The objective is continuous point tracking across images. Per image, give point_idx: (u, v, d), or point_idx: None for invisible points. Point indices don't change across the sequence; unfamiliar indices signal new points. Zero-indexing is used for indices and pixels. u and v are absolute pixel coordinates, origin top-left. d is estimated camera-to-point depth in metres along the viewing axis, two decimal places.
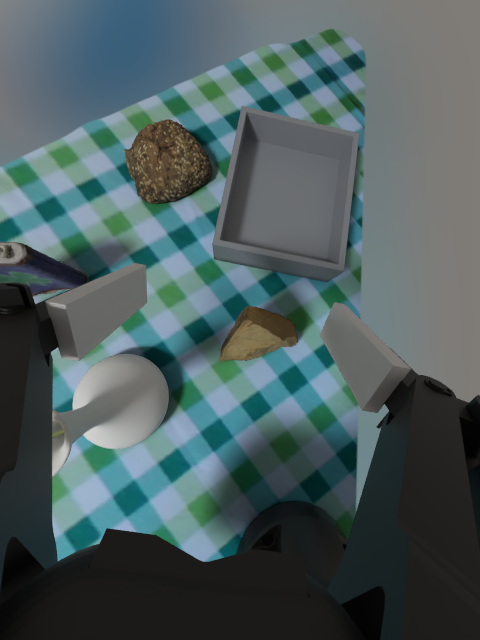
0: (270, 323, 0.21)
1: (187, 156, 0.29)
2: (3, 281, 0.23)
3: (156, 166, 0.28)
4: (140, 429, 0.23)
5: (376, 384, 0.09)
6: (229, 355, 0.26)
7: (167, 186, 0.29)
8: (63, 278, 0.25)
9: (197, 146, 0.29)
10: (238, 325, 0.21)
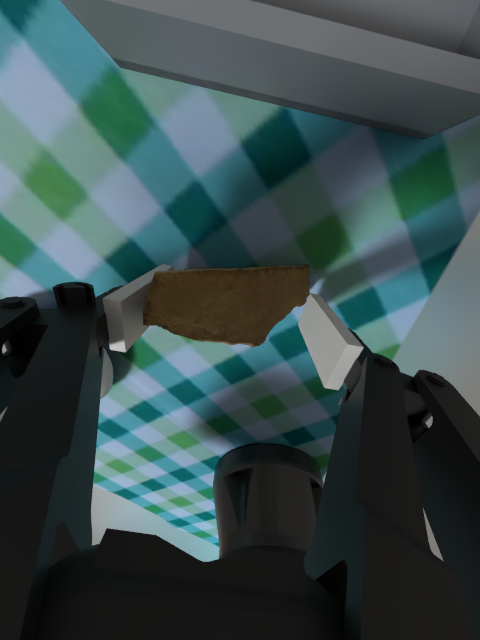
0: (229, 311, 0.08)
1: None
2: None
3: None
4: None
5: (335, 363, 0.10)
6: None
7: None
8: None
9: None
10: None
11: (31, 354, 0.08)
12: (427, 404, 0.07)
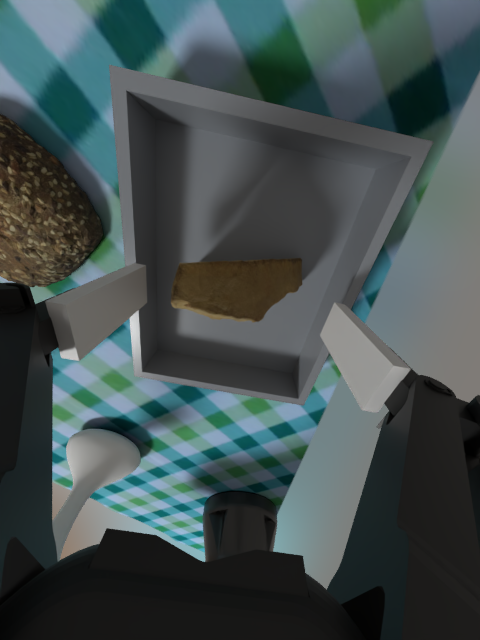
0: (235, 293, 0.11)
1: (35, 234, 0.15)
2: None
3: None
4: (122, 477, 0.32)
5: (376, 384, 0.09)
6: None
7: (36, 277, 0.18)
8: None
9: (44, 200, 0.15)
10: None
11: None
12: None
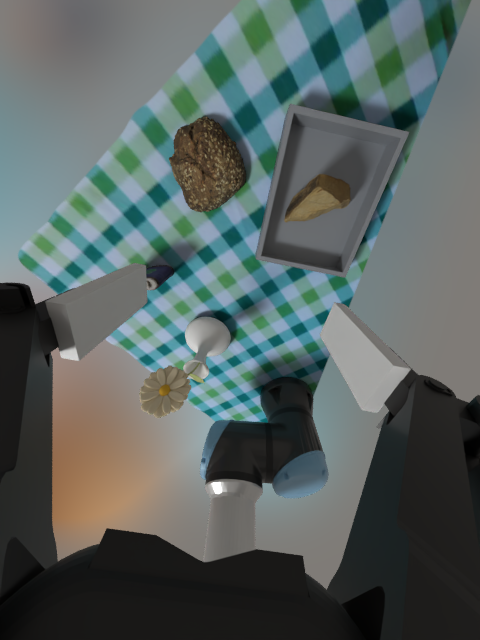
0: (334, 188, 0.29)
1: (225, 177, 0.33)
2: None
3: (201, 188, 0.35)
4: (219, 351, 0.50)
5: (376, 384, 0.09)
6: (294, 217, 0.36)
7: (210, 203, 0.36)
8: None
9: (233, 160, 0.33)
10: (309, 191, 0.29)
11: None
12: None
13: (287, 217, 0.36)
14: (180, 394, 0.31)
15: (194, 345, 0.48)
